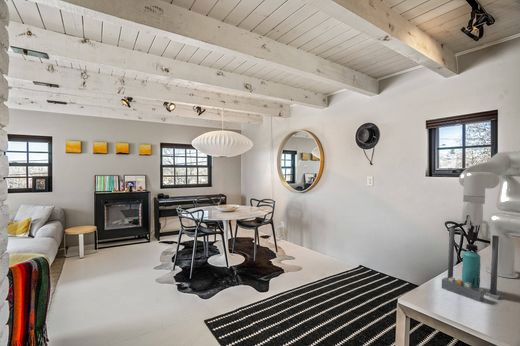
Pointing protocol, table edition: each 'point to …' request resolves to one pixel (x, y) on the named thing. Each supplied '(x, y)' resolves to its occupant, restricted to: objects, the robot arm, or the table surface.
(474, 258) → the beverage bottle
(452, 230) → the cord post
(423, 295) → the table surface
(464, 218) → the robot arm
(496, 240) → the cord post
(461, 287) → the pdu strip
